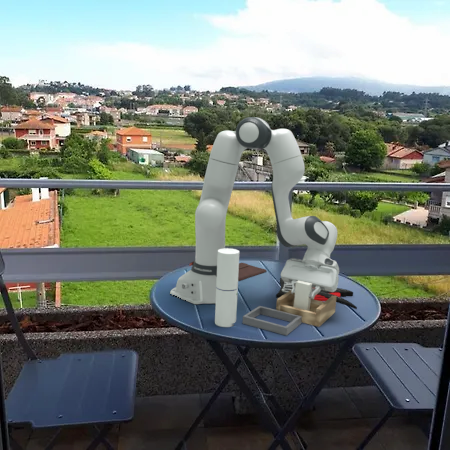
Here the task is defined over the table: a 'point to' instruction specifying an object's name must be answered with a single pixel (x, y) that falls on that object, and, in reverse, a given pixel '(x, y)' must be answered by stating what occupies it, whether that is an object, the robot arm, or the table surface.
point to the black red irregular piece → (320, 293)
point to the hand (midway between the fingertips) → (302, 295)
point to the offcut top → (315, 303)
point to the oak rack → (308, 317)
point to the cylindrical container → (226, 287)
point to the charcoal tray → (284, 330)
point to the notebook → (248, 271)
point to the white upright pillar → (302, 295)
